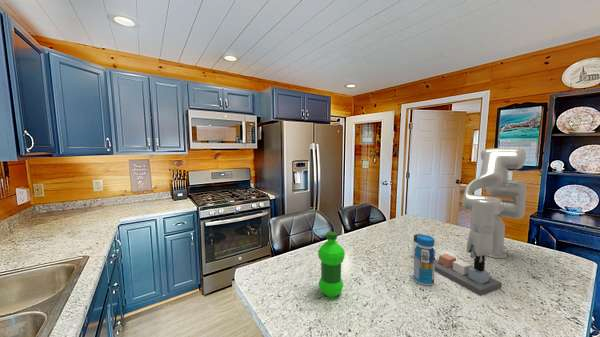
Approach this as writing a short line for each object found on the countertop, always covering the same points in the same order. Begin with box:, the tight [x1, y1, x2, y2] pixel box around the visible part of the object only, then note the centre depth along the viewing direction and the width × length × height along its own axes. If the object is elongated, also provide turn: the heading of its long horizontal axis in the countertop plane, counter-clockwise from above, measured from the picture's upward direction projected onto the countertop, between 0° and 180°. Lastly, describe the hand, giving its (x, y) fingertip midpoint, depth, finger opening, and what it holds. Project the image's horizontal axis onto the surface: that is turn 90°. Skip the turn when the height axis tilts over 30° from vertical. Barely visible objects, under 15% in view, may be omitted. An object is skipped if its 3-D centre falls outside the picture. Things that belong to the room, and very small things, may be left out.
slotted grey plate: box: [434, 259, 503, 296], centre depth 106 cm, size 14×24×2 cm, turn 21°
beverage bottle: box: [412, 234, 437, 286], centre depth 102 cm, size 8×8×20 cm
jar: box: [411, 233, 423, 259], centre depth 123 cm, size 9×8×12 cm
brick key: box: [438, 253, 457, 269], centre depth 112 cm, size 5×5×4 cm
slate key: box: [468, 267, 490, 285], centre depth 99 cm, size 5×5×4 cm
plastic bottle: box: [317, 231, 346, 298], centre depth 93 cm, size 10×10×25 cm
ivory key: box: [453, 259, 473, 276], centre depth 105 cm, size 5×5×4 cm
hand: (478, 269), depth 99 cm, fingers closed
